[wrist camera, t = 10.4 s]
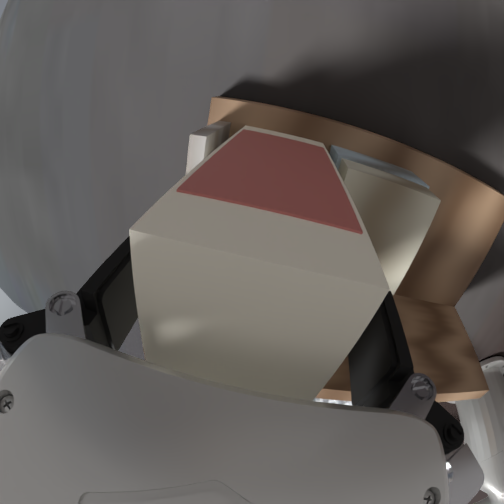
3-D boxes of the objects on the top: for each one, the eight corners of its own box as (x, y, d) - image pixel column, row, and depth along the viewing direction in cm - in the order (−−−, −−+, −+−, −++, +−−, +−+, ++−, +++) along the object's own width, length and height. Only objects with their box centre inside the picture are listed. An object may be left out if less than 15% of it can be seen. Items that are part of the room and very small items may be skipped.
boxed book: (323, 142, 16) (391, 286, 5) (289, 258, 21) (275, 442, 10) (245, 124, 17) (129, 226, 5) (225, 243, 22) (159, 416, 10)
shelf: (500, 192, 17) (583, 270, 7) (441, 302, 24) (479, 398, 14) (219, 96, 17) (128, 112, 7) (200, 249, 25) (145, 360, 15)
